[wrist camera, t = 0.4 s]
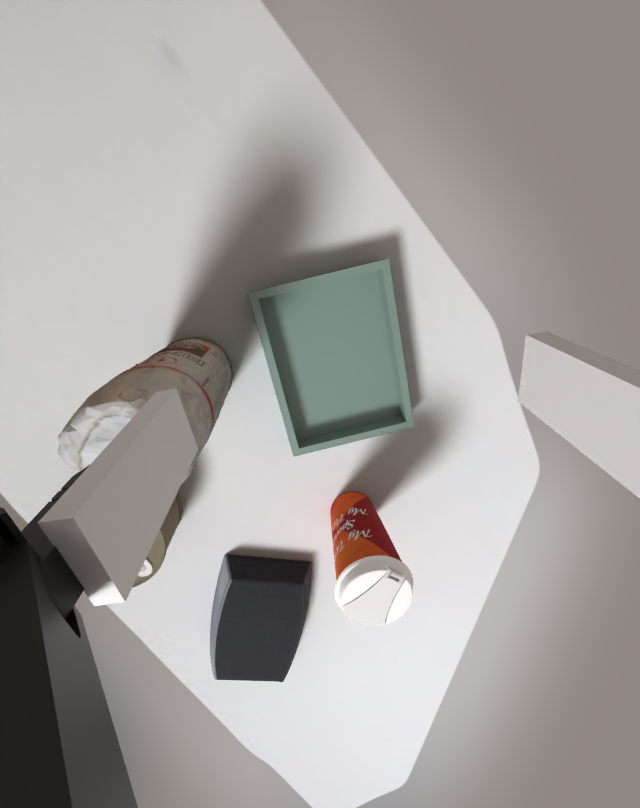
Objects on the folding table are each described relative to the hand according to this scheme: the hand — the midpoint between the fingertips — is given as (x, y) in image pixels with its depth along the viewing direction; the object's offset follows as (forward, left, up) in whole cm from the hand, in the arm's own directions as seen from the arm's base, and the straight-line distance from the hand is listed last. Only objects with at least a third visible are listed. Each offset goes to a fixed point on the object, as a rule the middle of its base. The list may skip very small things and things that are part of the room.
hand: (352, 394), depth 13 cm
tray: (+4, +2, -26) cm, 26 cm away
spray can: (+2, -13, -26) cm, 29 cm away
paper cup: (+24, 0, -26) cm, 36 cm away
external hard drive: (+37, -16, -27) cm, 49 cm away
